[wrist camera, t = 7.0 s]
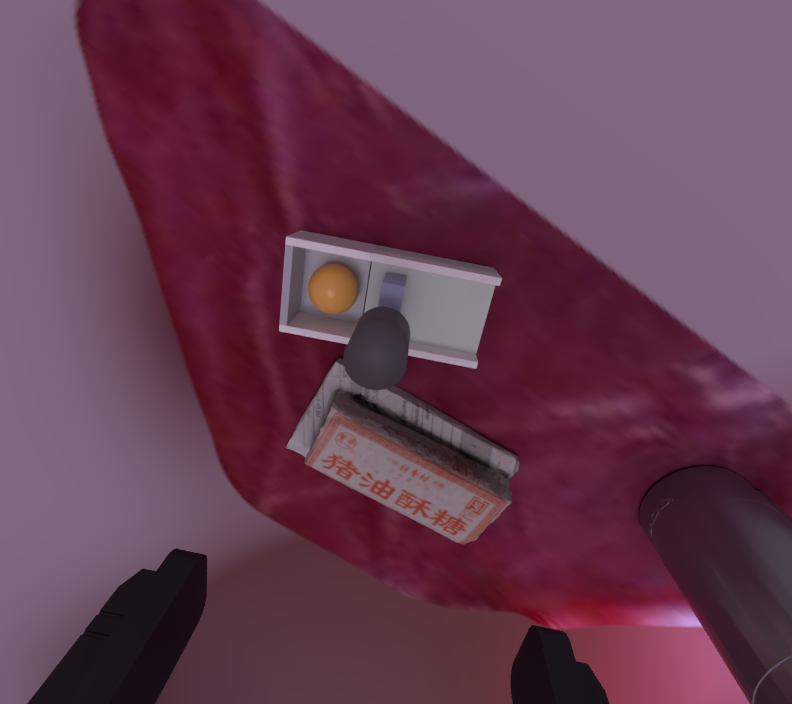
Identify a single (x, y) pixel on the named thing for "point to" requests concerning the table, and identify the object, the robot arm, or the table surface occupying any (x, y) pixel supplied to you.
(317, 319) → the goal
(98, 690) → the robot arm
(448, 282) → the tray
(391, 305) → the striker
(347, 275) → the ball
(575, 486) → the table surface
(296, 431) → the packaged product
